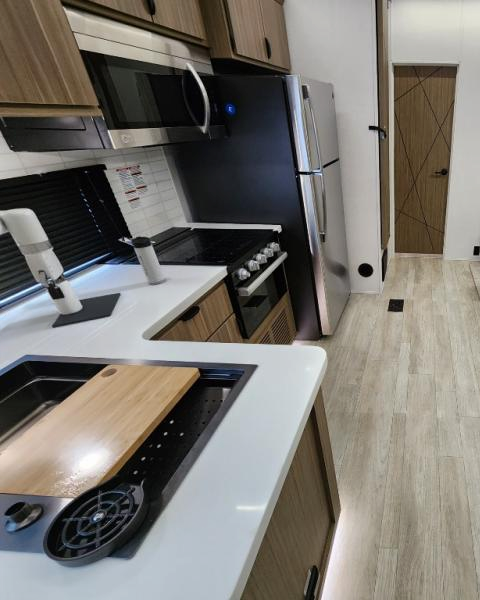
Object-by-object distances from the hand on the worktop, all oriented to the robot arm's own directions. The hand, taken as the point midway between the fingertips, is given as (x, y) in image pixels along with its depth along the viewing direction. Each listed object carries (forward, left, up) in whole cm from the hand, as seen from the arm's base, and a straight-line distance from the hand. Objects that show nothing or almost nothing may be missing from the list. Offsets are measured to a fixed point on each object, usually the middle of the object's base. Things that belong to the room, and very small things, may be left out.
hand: (62, 293), depth 119 cm
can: (0, 0, -7) cm, 7 cm away
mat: (+5, 0, -8) cm, 9 cm away
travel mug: (+25, +17, -8) cm, 31 cm away
